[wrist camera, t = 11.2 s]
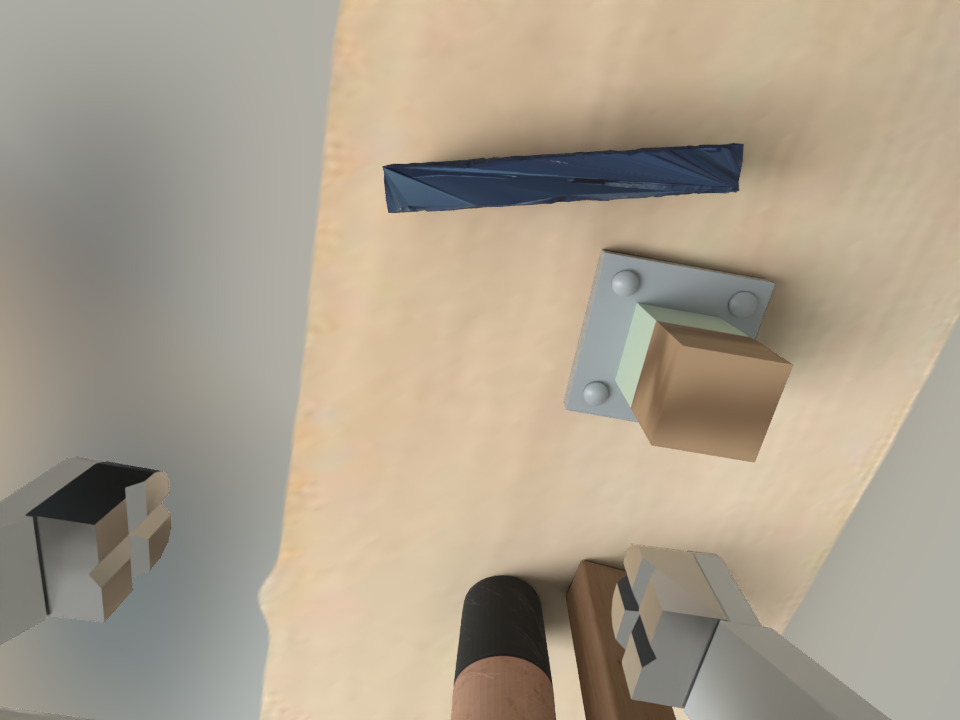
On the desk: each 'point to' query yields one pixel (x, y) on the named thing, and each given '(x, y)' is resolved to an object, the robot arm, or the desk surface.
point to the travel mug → (502, 655)
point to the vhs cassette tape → (562, 178)
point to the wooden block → (603, 649)
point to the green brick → (642, 335)
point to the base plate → (656, 285)
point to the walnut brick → (708, 391)
